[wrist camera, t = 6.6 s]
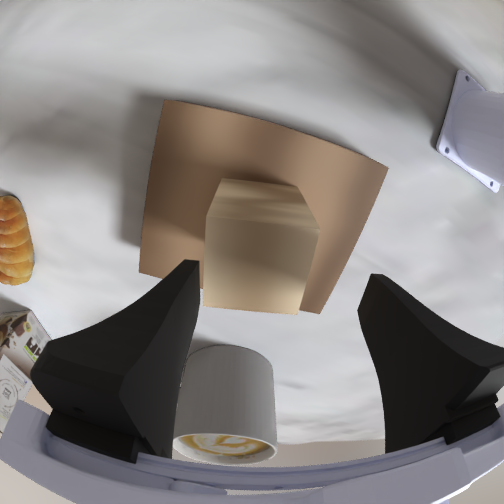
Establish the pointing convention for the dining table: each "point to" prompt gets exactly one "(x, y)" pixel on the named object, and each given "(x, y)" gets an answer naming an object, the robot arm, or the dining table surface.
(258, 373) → the coffee mug
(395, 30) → the dining table surface
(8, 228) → the pastry
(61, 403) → the robot arm
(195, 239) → the walnut base
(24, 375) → the coffee box
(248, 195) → the beech block
